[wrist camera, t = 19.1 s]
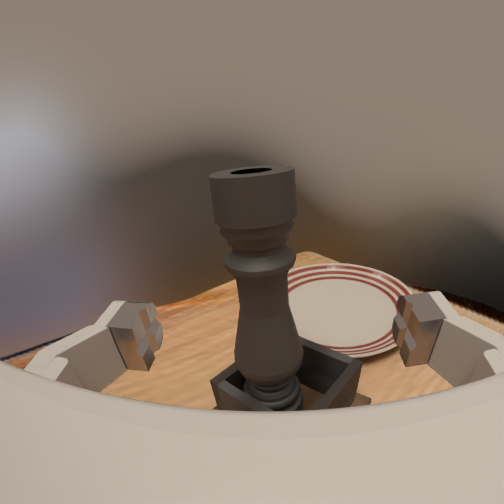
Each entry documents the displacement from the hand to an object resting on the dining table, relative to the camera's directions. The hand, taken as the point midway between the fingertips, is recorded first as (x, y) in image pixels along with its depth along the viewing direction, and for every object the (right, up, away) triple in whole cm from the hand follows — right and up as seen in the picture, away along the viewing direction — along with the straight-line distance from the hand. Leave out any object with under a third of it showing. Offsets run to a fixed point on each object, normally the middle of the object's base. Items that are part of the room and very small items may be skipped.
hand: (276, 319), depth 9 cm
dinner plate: (+14, -8, +38) cm, 42 cm away
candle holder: (+2, -16, +19) cm, 25 cm away
